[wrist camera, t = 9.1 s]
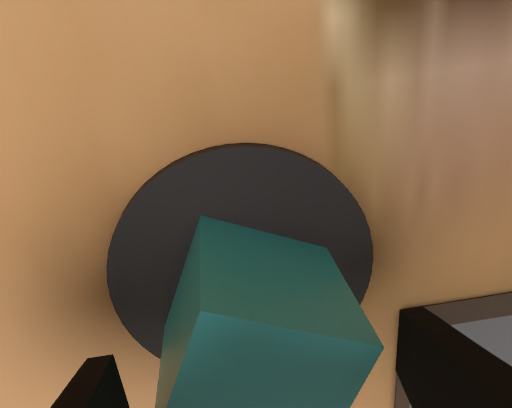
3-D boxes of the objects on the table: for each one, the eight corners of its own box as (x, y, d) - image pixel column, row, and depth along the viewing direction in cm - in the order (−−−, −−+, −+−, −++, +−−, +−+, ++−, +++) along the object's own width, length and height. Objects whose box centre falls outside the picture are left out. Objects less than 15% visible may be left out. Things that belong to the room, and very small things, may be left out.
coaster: (369, 126, 13) (377, 131, 12) (364, 345, 16) (369, 356, 16) (79, 161, 12) (73, 168, 12) (140, 382, 16) (138, 395, 15)
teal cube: (326, 247, 14) (384, 347, 9) (281, 347, 15) (313, 472, 11) (200, 215, 13) (200, 311, 8) (164, 325, 14) (149, 454, 10)
